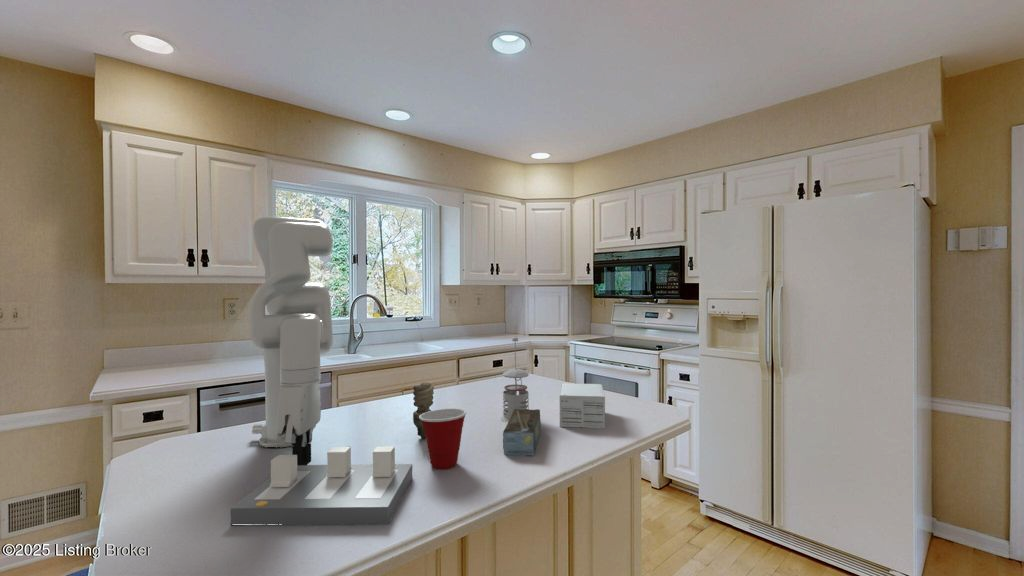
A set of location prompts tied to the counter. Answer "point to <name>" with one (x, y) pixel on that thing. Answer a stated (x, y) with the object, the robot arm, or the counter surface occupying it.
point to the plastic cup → (443, 436)
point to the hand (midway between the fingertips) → (301, 463)
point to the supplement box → (582, 405)
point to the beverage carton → (522, 432)
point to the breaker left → (283, 470)
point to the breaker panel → (326, 498)
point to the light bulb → (422, 404)
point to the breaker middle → (339, 461)
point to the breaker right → (383, 461)
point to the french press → (514, 391)
